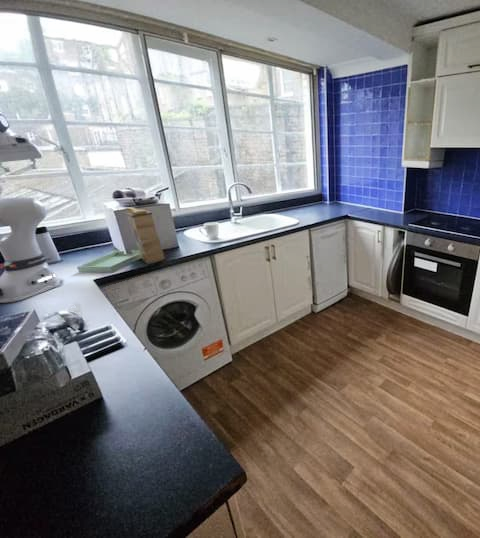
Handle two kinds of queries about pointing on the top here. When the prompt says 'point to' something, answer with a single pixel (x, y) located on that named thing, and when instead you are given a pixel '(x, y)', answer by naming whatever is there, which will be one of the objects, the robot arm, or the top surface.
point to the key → (136, 211)
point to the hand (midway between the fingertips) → (21, 170)
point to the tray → (110, 262)
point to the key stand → (146, 237)
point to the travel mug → (47, 245)
